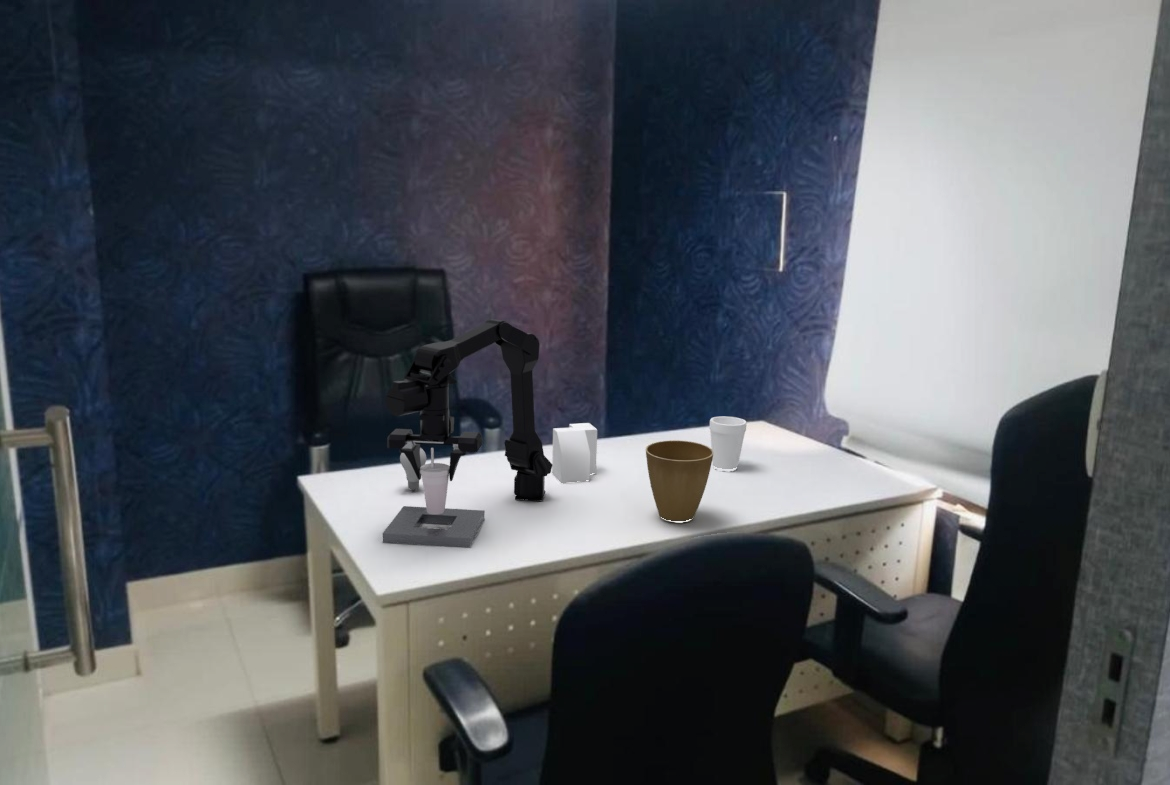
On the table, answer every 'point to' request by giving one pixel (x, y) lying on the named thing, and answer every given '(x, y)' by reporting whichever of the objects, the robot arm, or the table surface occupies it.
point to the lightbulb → (410, 473)
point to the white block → (574, 452)
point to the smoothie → (435, 485)
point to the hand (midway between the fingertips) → (435, 479)
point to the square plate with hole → (458, 535)
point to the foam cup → (727, 440)
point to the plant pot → (678, 476)
